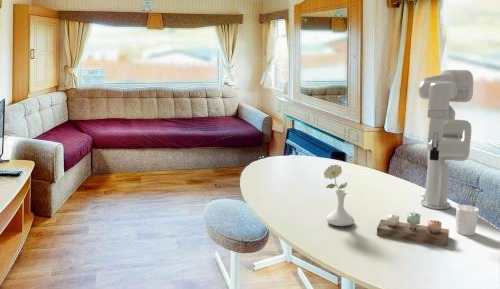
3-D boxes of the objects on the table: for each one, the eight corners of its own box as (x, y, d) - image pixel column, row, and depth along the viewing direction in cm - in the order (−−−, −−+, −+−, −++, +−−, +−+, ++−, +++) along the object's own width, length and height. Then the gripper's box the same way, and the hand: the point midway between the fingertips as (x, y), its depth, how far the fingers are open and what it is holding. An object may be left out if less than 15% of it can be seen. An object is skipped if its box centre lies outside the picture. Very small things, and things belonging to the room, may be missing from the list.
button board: (376, 235, 168) (377, 227, 167) (380, 226, 177) (381, 219, 176) (447, 246, 157) (448, 238, 157) (448, 236, 166) (448, 229, 166)
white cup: (464, 237, 166) (466, 212, 164) (449, 229, 173) (451, 205, 172) (481, 235, 168) (483, 210, 166) (466, 227, 176) (468, 204, 174)
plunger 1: (385, 232, 169) (386, 216, 168) (386, 228, 173) (387, 212, 172) (397, 234, 167) (398, 218, 166) (398, 230, 171) (400, 214, 170)
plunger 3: (426, 239, 163) (427, 222, 162) (427, 234, 167) (428, 218, 166) (439, 241, 161) (441, 224, 160) (440, 237, 165) (441, 220, 164)
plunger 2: (405, 231, 166) (406, 214, 164) (407, 227, 170) (408, 211, 168) (418, 233, 164) (419, 216, 162) (419, 229, 168) (420, 212, 166)
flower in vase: (352, 219, 185) (355, 161, 180) (355, 229, 174) (359, 168, 169) (321, 218, 186) (323, 161, 181) (322, 228, 175) (324, 167, 170)
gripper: (428, 111, 179) (425, 155, 183) (426, 115, 166) (422, 162, 169) (448, 112, 176) (444, 157, 179) (447, 116, 163) (443, 164, 166)
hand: (434, 159), depth 174 cm, fingers closed
